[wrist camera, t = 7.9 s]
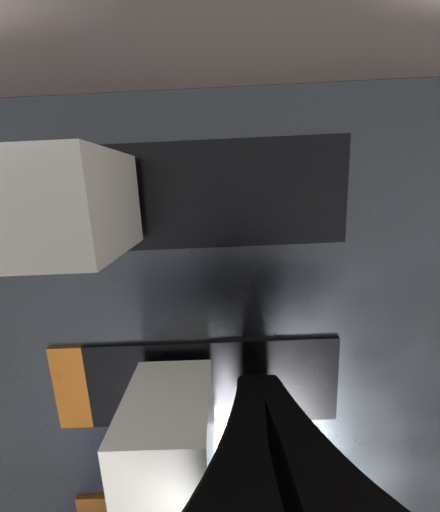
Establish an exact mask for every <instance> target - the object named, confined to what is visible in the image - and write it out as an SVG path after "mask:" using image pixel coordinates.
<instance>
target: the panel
mask: <svg viewBox="0 0 440 512" xmlns="http://www.w3.org/2000/svg"><path fill="white" fill-rule="evenodd" d="M59 139H82V140H85V141H88V142H91V143H94V144H98V145H101V146H104V147H107V148H110V149H114V150H117V151H120V152H123V153H126V154H130V155H133V156H135V164H136V174H137V184H138V194H139V203H140V213H141V223H142V233H143V240H142V241H141V242H139V243H138V244H137V245H135V246H134V247H132V248H131V249H130V250H128V251H127V252H125V253H124V254H123V255H121V256H120V257H119V258H117V259H116V260H114V261H113V262H112V263H110V264H109V265H107V266H106V267H105V268H103V269H102V270H101V271H99V272H98V273H78V274H53V275H28V276H3V277H0V512H107V507H106V501H105V495H104V489H103V483H102V477H101V471H100V464H99V458H98V450H99V448H100V445H101V443H102V441H103V439H104V437H105V435H106V432H107V430H108V428H109V426H110V424H111V422H112V419H113V417H114V415H115V413H116V411H117V409H118V406H119V404H120V402H121V400H122V398H123V396H124V393H125V391H126V389H127V387H128V385H129V383H130V380H131V378H132V376H133V374H134V372H135V370H136V367H137V365H138V363H139V362H156V361H184V360H211V365H212V383H213V401H214V419H215V425H214V453H215V451H216V449H217V446H218V444H219V441H220V439H221V437H222V434H223V432H224V429H225V427H226V424H227V422H228V419H229V416H230V412H231V409H232V406H233V403H234V399H235V395H236V389H237V379H238V378H239V377H240V376H248V375H276V376H277V377H278V378H279V379H280V380H281V382H282V383H283V385H284V386H285V388H286V389H287V390H288V392H289V393H290V394H291V396H292V397H293V398H294V400H295V401H296V402H297V404H298V405H299V406H300V407H301V408H302V410H303V411H304V412H305V413H306V414H307V416H308V417H309V418H310V419H311V420H312V421H313V423H314V424H315V425H316V426H317V427H318V428H319V429H320V431H321V432H322V433H323V434H324V435H325V436H326V437H327V438H328V439H329V440H330V441H331V442H332V443H333V444H334V445H335V446H336V447H337V448H338V449H339V450H340V451H341V452H342V453H343V454H344V455H345V456H346V457H347V458H348V459H349V460H350V461H351V462H352V463H353V464H354V465H355V466H356V467H357V468H358V469H360V470H361V471H362V472H363V473H364V474H365V475H366V476H367V477H368V478H370V479H371V480H372V481H373V482H374V483H375V484H377V485H378V486H379V487H380V488H381V489H383V490H384V491H385V492H387V493H388V494H389V495H390V496H392V497H393V498H394V499H395V500H397V501H398V502H399V503H401V504H402V505H403V506H404V507H406V508H407V509H408V510H409V511H411V512H440V77H420V78H400V79H379V80H358V81H338V82H317V83H297V84H276V85H255V86H235V87H214V88H193V89H173V90H152V91H131V92H111V93H90V94H69V95H49V96H28V97H8V98H0V142H16V141H38V140H59Z"/></svg>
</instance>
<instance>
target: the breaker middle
mask: <svg viewBox="0 0 440 512" xmlns="http://www.w3.org/2000/svg"><path fill="white" fill-rule="evenodd" d="M214 425H215V419H214V401H213V383H212V365H211V360H184V361H156V362H139V363H138V365H137V367H136V370H135V372H134V374H133V376H132V378H131V380H130V383H129V385H128V387H127V389H126V391H125V393H124V396H123V398H122V400H121V402H120V404H119V406H118V409H117V411H116V413H115V415H114V417H113V419H112V422H111V424H110V426H109V428H108V430H107V432H106V435H105V437H104V439H103V441H102V443H101V445H100V448H99V450H98V458H99V464H100V471H101V477H102V483H103V489H104V495H105V501H106V507H107V512H182V510H183V509H184V507H185V505H186V504H187V502H188V501H189V499H190V497H191V496H192V494H193V492H194V490H195V489H196V487H197V485H198V484H199V482H200V480H201V478H202V477H203V475H204V473H205V471H206V469H207V467H208V465H209V463H210V461H211V459H212V457H213V455H214Z"/></svg>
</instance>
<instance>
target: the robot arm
mask: <svg viewBox="0 0 440 512" xmlns="http://www.w3.org/2000/svg"><path fill="white" fill-rule="evenodd" d="M182 512H411V511H409V510H408V509H407V508H406V507H404V506H403V505H402V504H401V503H399V502H398V501H397V500H395V499H394V498H393V497H392V496H390V495H389V494H388V493H387V492H385V491H384V490H383V489H381V488H380V487H379V486H378V485H377V484H375V483H374V482H373V481H372V480H371V479H370V478H368V477H367V476H366V475H365V474H364V473H363V472H362V471H361V470H360V469H358V468H357V467H356V466H355V465H354V464H353V463H352V462H351V461H350V460H349V459H348V458H347V457H346V456H345V455H344V454H343V453H342V452H341V451H340V450H339V449H338V448H337V447H336V446H335V445H334V444H333V443H332V442H331V441H330V440H329V439H328V438H327V437H326V436H325V435H324V434H323V433H322V432H321V431H320V429H319V428H318V427H317V426H316V425H315V424H314V423H313V421H312V420H311V419H310V418H309V417H308V416H307V414H306V413H305V412H304V411H303V410H302V408H301V407H300V406H299V405H298V404H297V402H296V401H295V400H294V398H293V397H292V396H291V394H290V393H289V392H288V390H287V389H286V388H285V386H284V385H283V383H282V382H281V380H280V379H279V378H278V377H277V376H276V375H248V376H240V377H239V378H238V379H237V389H236V395H235V399H234V403H233V406H232V409H231V412H230V416H229V419H228V422H227V424H226V427H225V429H224V432H223V434H222V437H221V439H220V441H219V444H218V446H217V449H216V451H215V453H214V455H213V457H212V459H211V461H210V463H209V465H208V467H207V469H206V471H205V473H204V475H203V477H202V478H201V480H200V482H199V484H198V485H197V487H196V489H195V490H194V492H193V494H192V496H191V497H190V499H189V501H188V502H187V504H186V505H185V507H184V509H183V510H182Z"/></svg>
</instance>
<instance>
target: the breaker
mask: <svg viewBox="0 0 440 512" xmlns="http://www.w3.org/2000/svg"><path fill="white" fill-rule="evenodd" d="M142 240H143V233H142V223H141V213H140V203H139V194H138V184H137V174H136V164H135V156H133V155H130V154H126V153H123V152H120V151H117V150H114V149H110V148H107V147H104V146H101V145H98V144H94V143H91V142H88V141H85V140H82V139H59V140H38V141H16V142H0V277H3V276H28V275H53V274H78V273H98V272H99V271H101V270H102V269H103V268H105V267H106V266H107V265H109V264H110V263H112V262H113V261H114V260H116V259H117V258H119V257H120V256H121V255H123V254H124V253H125V252H127V251H128V250H130V249H131V248H132V247H134V246H135V245H137V244H138V243H139V242H141V241H142Z"/></svg>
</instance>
